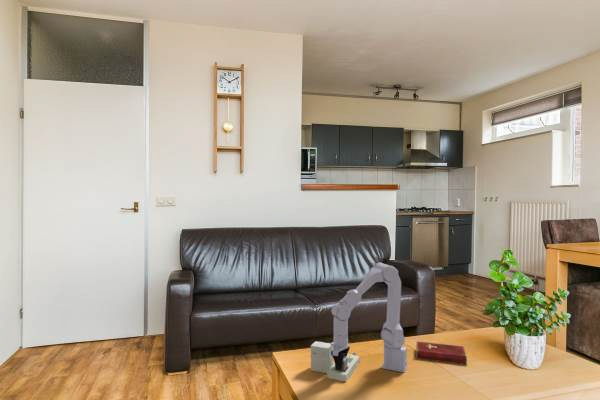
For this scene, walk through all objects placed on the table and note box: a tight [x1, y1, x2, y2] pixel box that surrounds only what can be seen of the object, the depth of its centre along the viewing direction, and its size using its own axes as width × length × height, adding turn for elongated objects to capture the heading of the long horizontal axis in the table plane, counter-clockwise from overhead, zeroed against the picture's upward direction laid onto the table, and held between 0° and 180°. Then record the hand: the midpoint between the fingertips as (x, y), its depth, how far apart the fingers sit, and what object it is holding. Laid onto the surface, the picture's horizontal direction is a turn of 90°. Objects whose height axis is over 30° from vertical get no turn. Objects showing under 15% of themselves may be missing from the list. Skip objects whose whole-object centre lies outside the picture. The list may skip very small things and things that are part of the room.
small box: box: [310, 341, 334, 374], centre depth 160 cm, size 8×6×10 cm
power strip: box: [326, 352, 361, 383], centre depth 163 cm, size 8×27×3 cm, turn 156°
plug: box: [335, 356, 347, 372], centre depth 155 cm, size 4×4×6 cm
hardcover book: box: [415, 340, 468, 365], centre depth 174 cm, size 12×21×4 cm, turn 72°
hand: (340, 367), depth 155 cm, fingers closed on plug, 4 cm apart
